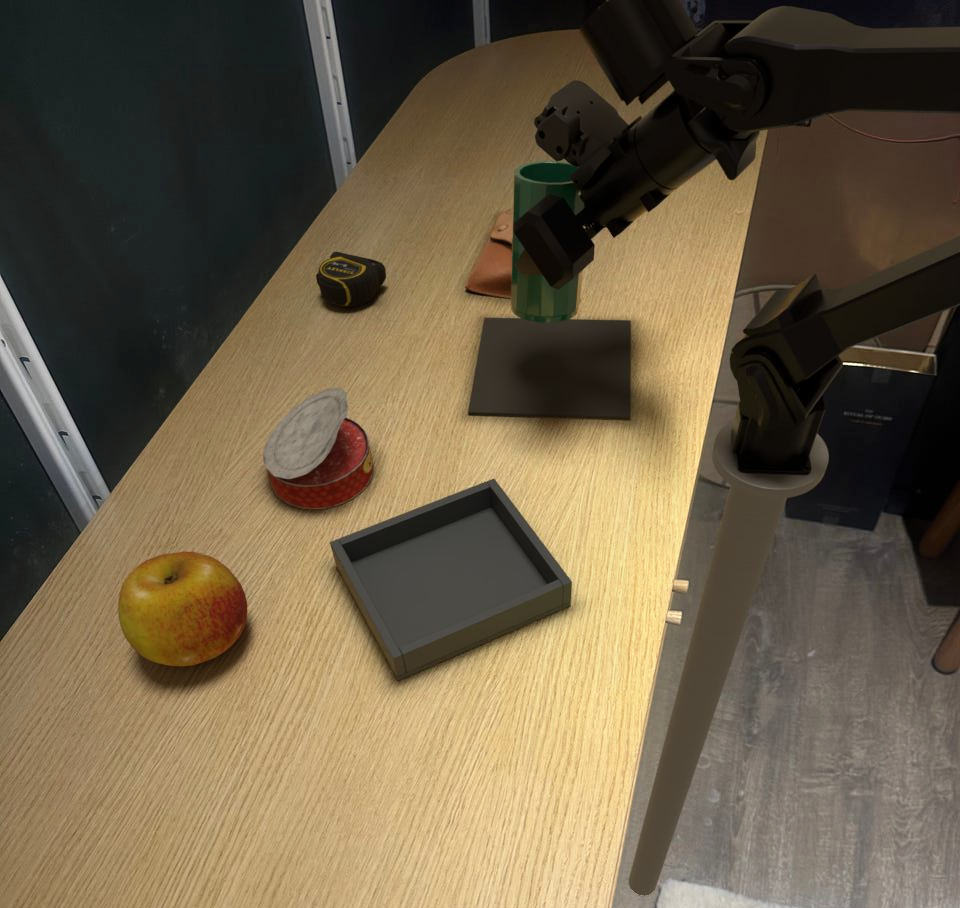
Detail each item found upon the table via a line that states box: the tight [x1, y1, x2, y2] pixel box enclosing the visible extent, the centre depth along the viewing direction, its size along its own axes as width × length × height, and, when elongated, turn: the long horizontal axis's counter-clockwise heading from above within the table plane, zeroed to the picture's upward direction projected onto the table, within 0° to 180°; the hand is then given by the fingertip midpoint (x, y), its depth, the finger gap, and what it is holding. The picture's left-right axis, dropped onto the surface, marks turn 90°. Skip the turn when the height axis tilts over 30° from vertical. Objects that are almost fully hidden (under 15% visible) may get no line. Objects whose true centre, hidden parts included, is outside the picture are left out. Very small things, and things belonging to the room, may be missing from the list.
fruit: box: [117, 551, 248, 667], centre depth 67 cm, size 10×9×8 cm
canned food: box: [262, 386, 375, 510], centre depth 79 cm, size 11×10×10 cm
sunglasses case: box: [464, 207, 513, 300], centre depth 100 cm, size 18×7×7 cm, turn 167°
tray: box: [329, 478, 573, 682], centre depth 71 cm, size 16×14×3 cm
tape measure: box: [315, 251, 387, 307], centre depth 97 cm, size 7×7×4 cm
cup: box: [510, 160, 587, 323], centre depth 78 cm, size 7×7×12 cm
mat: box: [467, 317, 632, 421], centre depth 89 cm, size 16×16×1 cm
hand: (541, 250), depth 79 cm, fingers closed on cup, 7 cm apart
